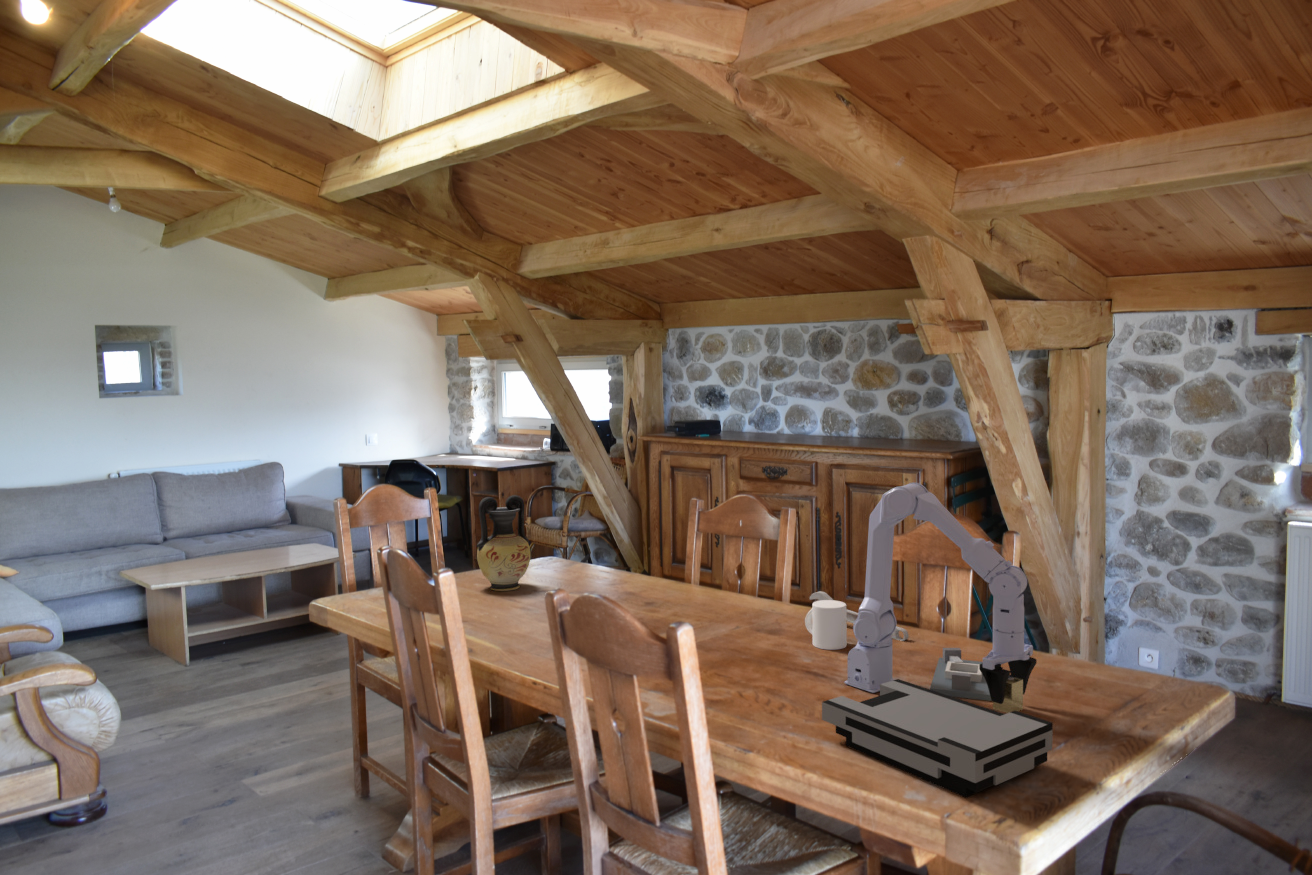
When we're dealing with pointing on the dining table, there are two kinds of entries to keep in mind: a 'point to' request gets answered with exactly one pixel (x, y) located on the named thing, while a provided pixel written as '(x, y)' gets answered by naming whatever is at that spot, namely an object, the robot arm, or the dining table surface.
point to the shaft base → (959, 677)
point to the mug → (828, 624)
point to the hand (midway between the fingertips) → (1008, 697)
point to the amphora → (503, 544)
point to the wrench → (853, 616)
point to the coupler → (1011, 696)
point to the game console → (941, 736)
